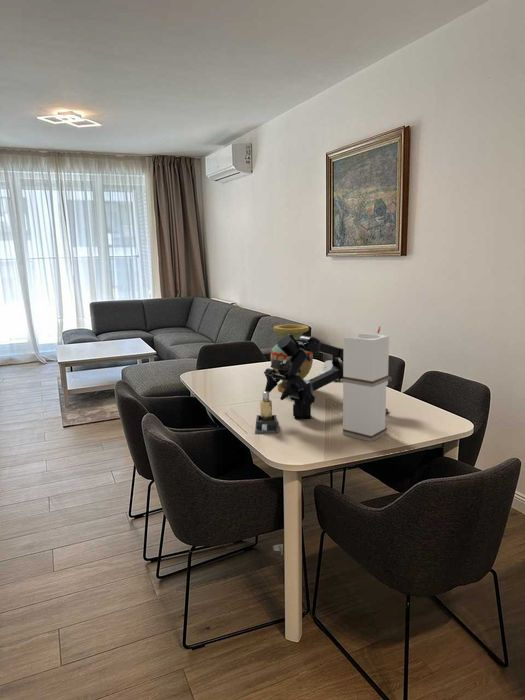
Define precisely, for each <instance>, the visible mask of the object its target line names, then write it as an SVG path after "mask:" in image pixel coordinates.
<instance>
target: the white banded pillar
mask: <svg viewBox="0 0 525 700" xmlns="http://www.w3.org/2000/svg"><path fill="white" fill-rule="evenodd" d="M389 344H390V335H385V334H384V335H383V334H379V335H377V334H374V333H373V334H372V333H366V332H365V333H363V332H359V333H358V337H351V336H343V349H344V351H343V379H342V383H343V384H342V385H343V386H342V400H343V401H342V435H343V436H344V435H345V436H347V437H352V438H356V439H360V440H362V441H363V440H364V441H366V442H371V443H372V442H374V441H376V440H377V439H379V438H381V437H382V436H384V435H386V434H387V433H388V432H387V431H388V430H387V427H386V415H387V414H386V406H387V405H386V404H387V403H386V402H387V386H388V385H389V382H388V375H389V354H390V353H389V351H390V349H389V348H390V347H389V346H390V345H389Z"/></svg>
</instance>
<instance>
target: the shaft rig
mask: <svg viewBox="0 0 525 700" xmlns="http://www.w3.org/2000/svg"><path fill="white" fill-rule="evenodd" d="M254 433H255V434H278V418H277V414H272V421H261V414H257V415H256V420H255V428H254Z"/></svg>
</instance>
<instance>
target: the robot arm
mask: <svg viewBox="0 0 525 700" xmlns="http://www.w3.org/2000/svg"><path fill="white" fill-rule="evenodd" d="M277 345H278V347H279V348H280V349H281V350H282V351H283V353H284V354H285V355H286V356H290V358H289V359H288V360H284V361H279V360H275V359H273V360H272V364H271V363H270V364H271V365H270V368H266V369H265V370H264V372H263V374H264V377H266V385H265V389H264V391H268V392H269V394H270V393H271V392H272V391H273V390H274V388H276V387H277V386H278V384H279V383H280V381H282V380H283V381H287V387H286V388H285V390H284V392H282V394H281V395H280V398H279V399H280V401H284V400H285V399H287V398H288V397H289V398H290V401H294V402H293V404H292V414H293V415H292V416H293V417H294V419H295V420H303V419H305V420H311V419H312V415H311V414H312V412H311V411H312V409H311V408H312V404H314V403H315V400H316V396H314V394H313V393H314V392H315V391H317V390H319V389H320V388H323V387H325V386H328V384H331V383H334V382H336V381H338V380H337V379H342V380H343V351H344V348H342V347H337V346H333V345H329V344H326V343H323V342H321V340H319V339H318V338H316V337H314V336H310V335H309V336H308V335H302V336H301V337H300V338H299V339H297V340H295V339H294V337H293V336H292V334H287V336H285V337H283V338H281V337H280V339H278V341H277ZM303 350H304V351H309V352H312V353H321V354H325V355H328V356H332V364H333V366H332V368H331V370H329V371H327V372H325V373H323V374H321V375H319V376H318V375H317V376H314V377H313V378H311V379H305V378H303V379H302V378H301V377H300V376H298V375H296V374H297V373H300V372H301V370H300V368H301V366H302V365H303V363H304V362H305V361H311V360H310V354H306V353H305V352H304V351H303ZM339 359H340V360H339ZM273 368H275V369H277V371H278V372H279V373H280V374H278V373H277V372H276V371H275V370H274V369H273ZM282 377H283V378H282ZM333 381H334V382H333Z"/></svg>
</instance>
